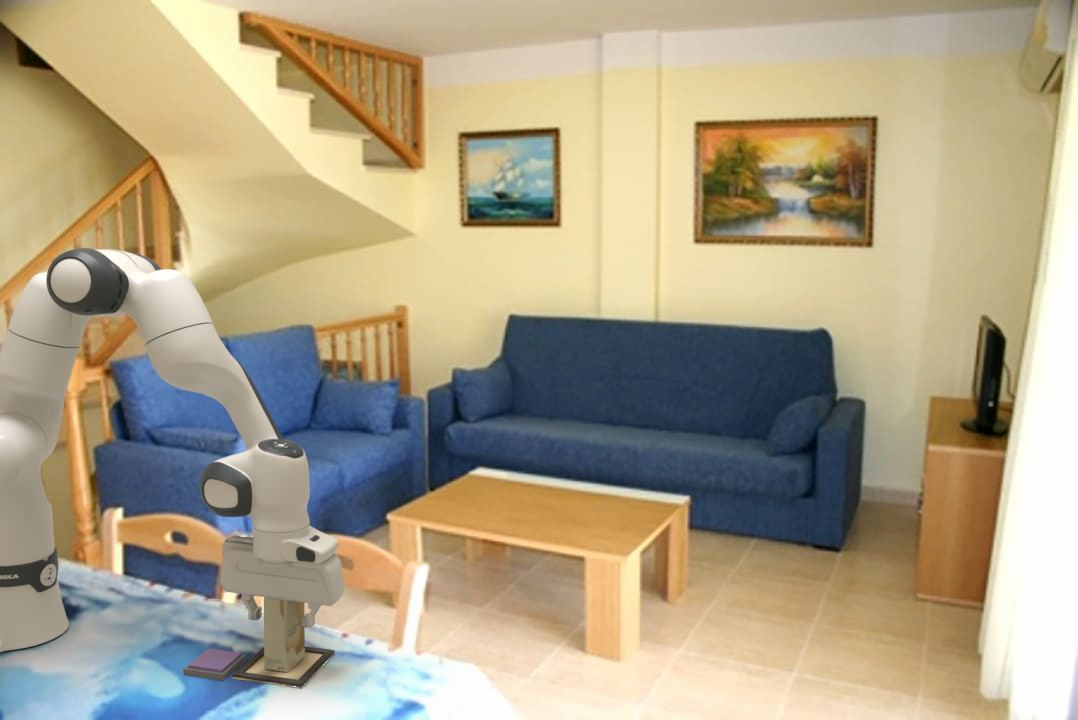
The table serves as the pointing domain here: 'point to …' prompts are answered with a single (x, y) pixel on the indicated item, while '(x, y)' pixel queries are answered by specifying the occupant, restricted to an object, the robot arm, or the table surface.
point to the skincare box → (283, 634)
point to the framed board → (293, 677)
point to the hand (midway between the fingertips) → (281, 622)
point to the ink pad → (215, 664)
